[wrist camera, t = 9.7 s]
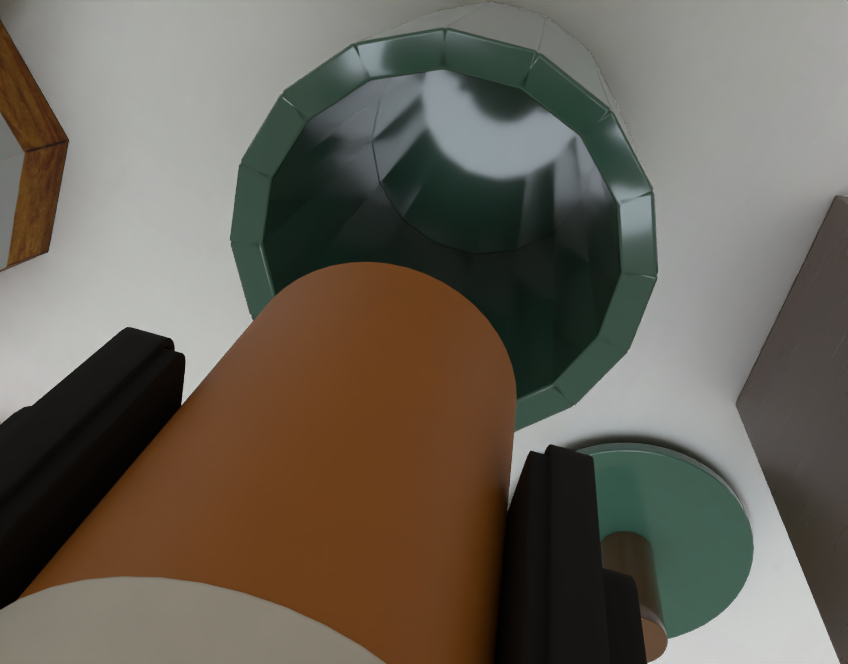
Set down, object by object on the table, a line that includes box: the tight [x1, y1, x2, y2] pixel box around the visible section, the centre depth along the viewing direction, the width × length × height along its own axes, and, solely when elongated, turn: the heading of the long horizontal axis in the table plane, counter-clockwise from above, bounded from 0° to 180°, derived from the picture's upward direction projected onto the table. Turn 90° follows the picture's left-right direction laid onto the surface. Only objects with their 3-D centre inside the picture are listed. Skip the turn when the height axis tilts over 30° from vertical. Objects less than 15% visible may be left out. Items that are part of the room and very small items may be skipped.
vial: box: [0, 262, 517, 664], centre depth 9 cm, size 5×5×8 cm
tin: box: [230, 2, 658, 432], centre depth 23 cm, size 10×10×12 cm
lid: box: [507, 443, 754, 663], centre depth 32 cm, size 11×11×6 cm
